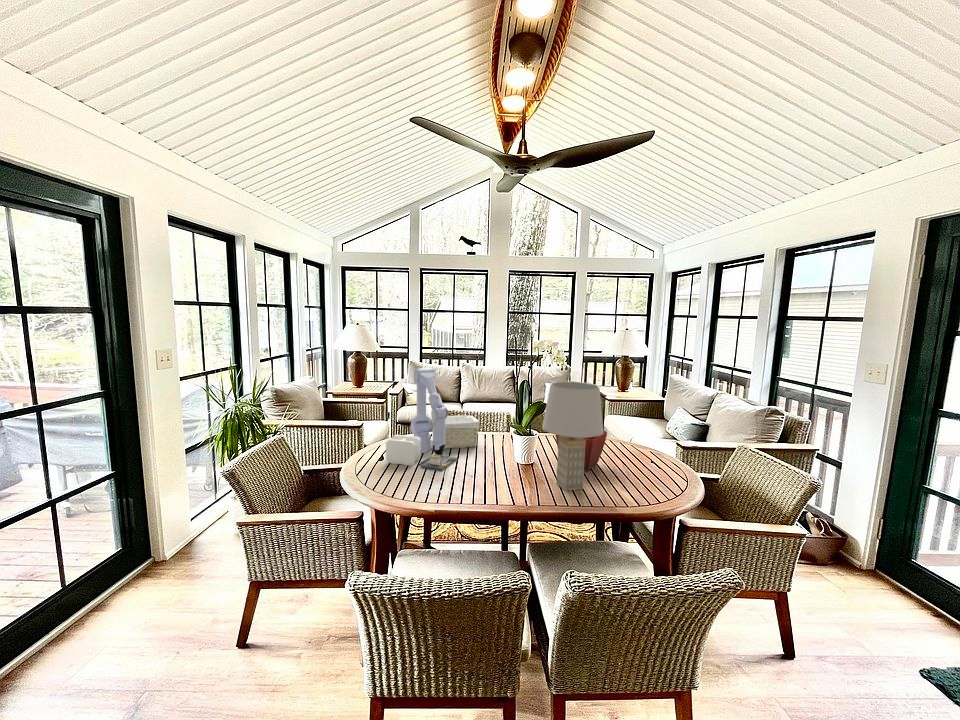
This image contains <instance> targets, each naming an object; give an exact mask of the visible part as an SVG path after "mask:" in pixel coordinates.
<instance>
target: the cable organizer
mask: <svg viewBox="0 0 960 720" xmlns="http://www.w3.org/2000/svg"><path fill="white" fill-rule="evenodd" d="M421 455H422V453H421V439H420V438H419V437H414V435H413V436H411V435H402V434H394V435H393V436H391V438H390V439H388V440H387V441H386V443H385V460H386V462H388V463H389V464H391V465H404V466H410V467H411V466H412V465H414V464H415V463H416V460H418V459H420V458H421Z"/></svg>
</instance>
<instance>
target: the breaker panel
mask: <svg viewBox="0 0 960 720" xmlns="http://www.w3.org/2000/svg"><path fill="white" fill-rule="evenodd" d="M455 462H458V457H457V456H450V455H449V456H448V455H443V454H442V457H441V463H440V464H439V465H434V464H430V460H428V461H426V462H425V463H423V464H422V465H421V466H420V468H421V469H427V470H433V471H437V472H443V471H444V470H446V469H447V468H449V467H450V466H452V464H454V463H455Z"/></svg>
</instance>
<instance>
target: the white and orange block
mask: <svg viewBox="0 0 960 720" xmlns="http://www.w3.org/2000/svg"><path fill="white" fill-rule="evenodd" d="M429 457H430V464H434V465H439V464H440V463H441V455H438V454H435V453H432V454H430V456H429Z"/></svg>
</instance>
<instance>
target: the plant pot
mask: <svg viewBox="0 0 960 720" xmlns="http://www.w3.org/2000/svg"><path fill="white" fill-rule="evenodd" d="M603 431H604V432H603V434H602V435H600V436H596V437H588V438H583V439H585V440H586V445H585V459H584V472H588V471H589V469H590V470H591V469H593V468H594V467H595V466H597V464H598V463H599V462H600V461H599V460H600V458H601V455H602V453H603V450H604V446H605V443H606V440H607V435H608V431H606V430H603ZM558 436H560V435H555V439H556V440H555V441H556V447H557V448H558V442H559V441H558ZM592 467H593V468H592Z"/></svg>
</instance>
